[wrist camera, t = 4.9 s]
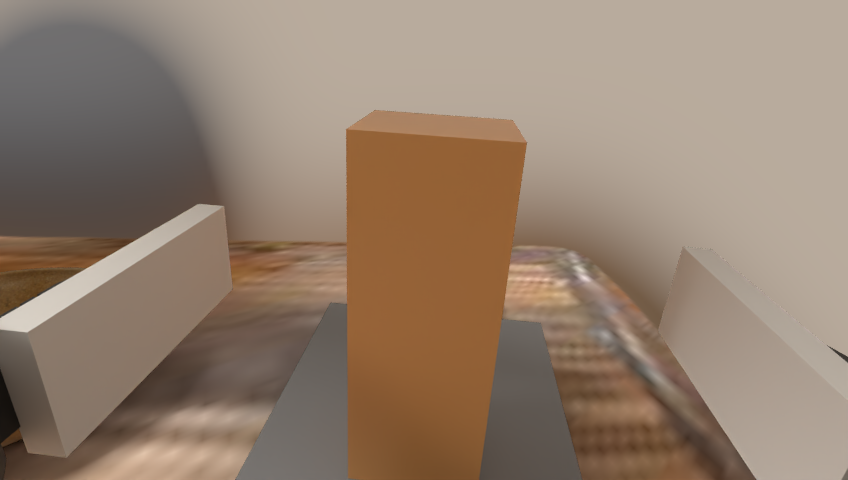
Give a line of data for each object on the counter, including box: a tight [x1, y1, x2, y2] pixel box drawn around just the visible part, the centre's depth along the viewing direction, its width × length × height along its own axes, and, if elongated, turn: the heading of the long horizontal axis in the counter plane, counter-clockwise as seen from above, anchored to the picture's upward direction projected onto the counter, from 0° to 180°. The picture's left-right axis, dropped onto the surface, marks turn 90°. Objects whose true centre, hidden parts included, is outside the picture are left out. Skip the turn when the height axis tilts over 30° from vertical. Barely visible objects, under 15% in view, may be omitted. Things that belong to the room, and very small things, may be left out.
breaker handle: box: [346, 110, 527, 480], centre depth 14 cm, size 4×4×11 cm
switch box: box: [235, 303, 582, 480], centre depth 20 cm, size 25×11×3 cm, turn 175°
